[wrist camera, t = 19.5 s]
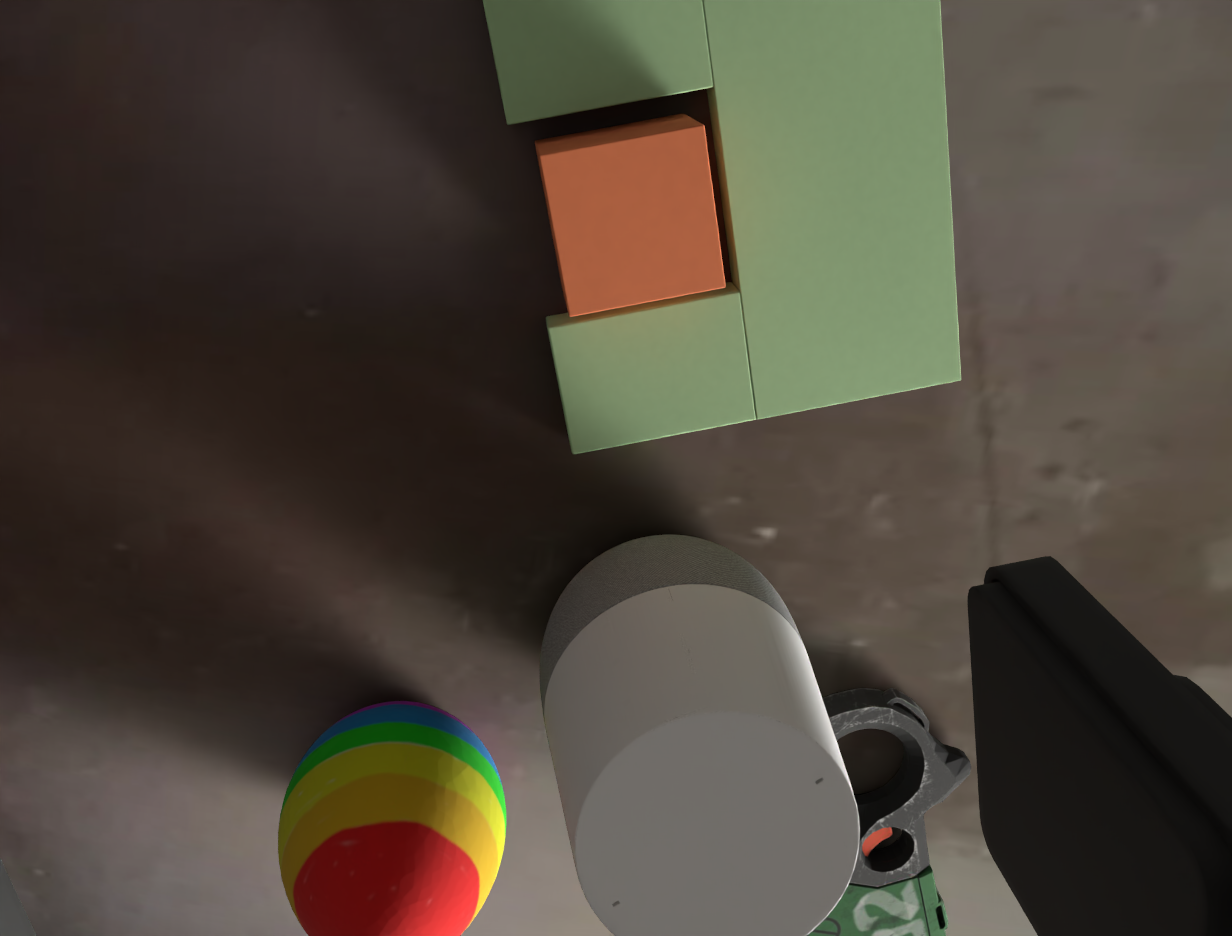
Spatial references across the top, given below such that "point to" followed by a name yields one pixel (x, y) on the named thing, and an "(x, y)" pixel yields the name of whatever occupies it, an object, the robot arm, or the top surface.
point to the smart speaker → (693, 747)
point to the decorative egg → (392, 825)
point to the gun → (894, 822)
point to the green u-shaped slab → (762, 204)
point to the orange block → (632, 213)
